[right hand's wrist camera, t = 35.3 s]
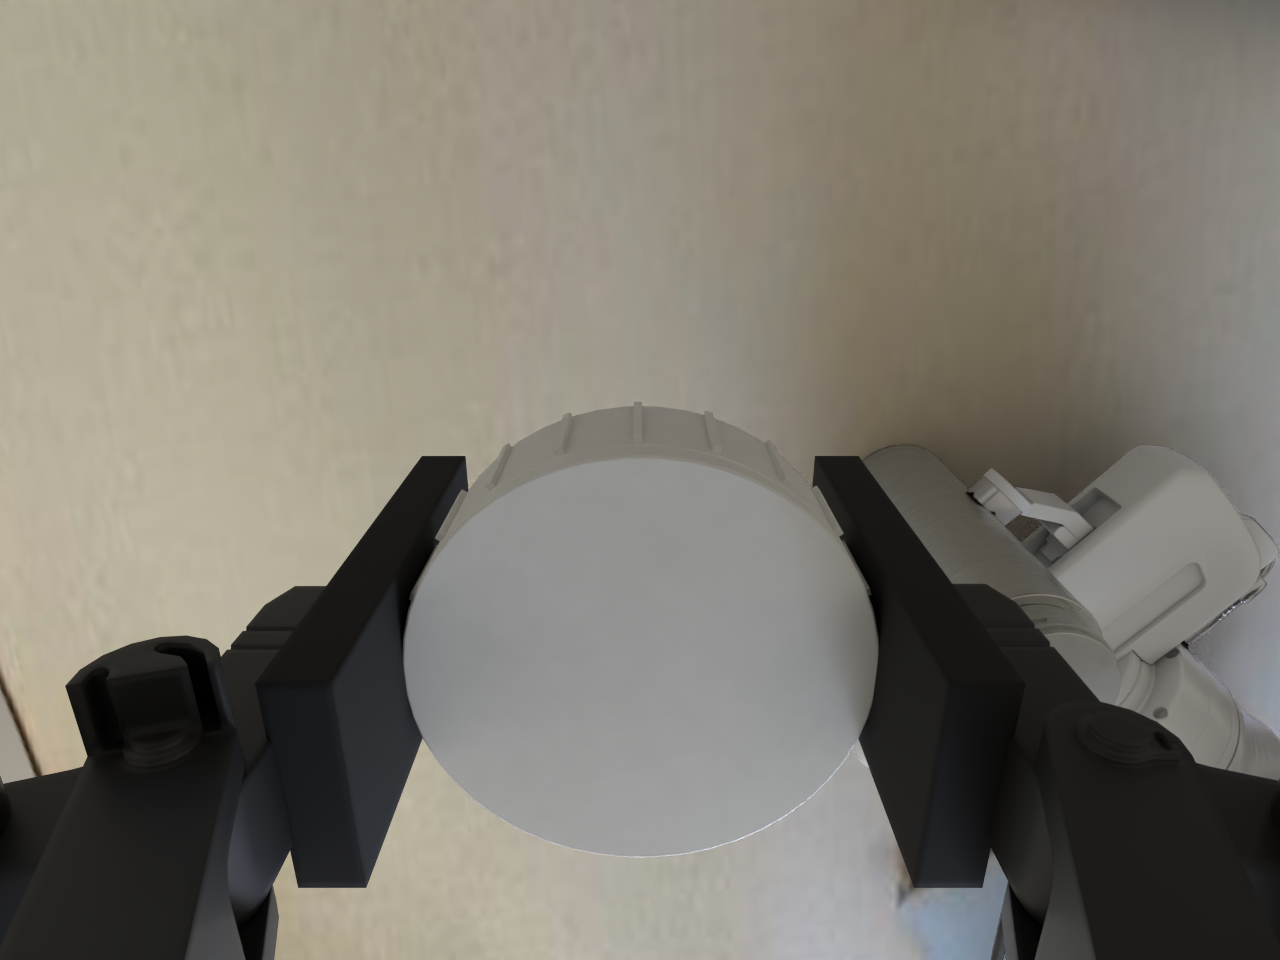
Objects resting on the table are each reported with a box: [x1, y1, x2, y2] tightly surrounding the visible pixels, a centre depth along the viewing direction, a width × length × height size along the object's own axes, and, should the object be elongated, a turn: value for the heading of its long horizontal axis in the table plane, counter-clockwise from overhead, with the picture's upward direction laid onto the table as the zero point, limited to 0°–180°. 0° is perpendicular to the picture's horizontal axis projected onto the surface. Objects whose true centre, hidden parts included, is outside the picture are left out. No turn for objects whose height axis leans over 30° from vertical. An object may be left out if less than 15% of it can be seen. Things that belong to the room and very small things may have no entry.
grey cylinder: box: [863, 445, 1121, 705], centre depth 35 cm, size 5×5×17 cm
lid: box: [403, 402, 879, 857], centre depth 11 cm, size 6×6×2 cm
